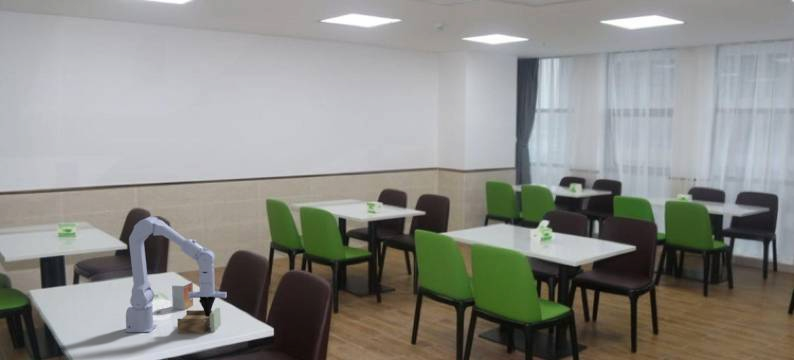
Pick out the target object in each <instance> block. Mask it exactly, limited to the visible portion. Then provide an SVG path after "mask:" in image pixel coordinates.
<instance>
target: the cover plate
mask: <svg viewBox="0 0 794 360" xmlns="http://www.w3.org/2000/svg"><path fill="white" fill-rule="evenodd" d="M221 320H222V319H221V307H215V309H214V310H212V313H211V314H210V333H216V331H217V330H218V329H219V327H220V326H221V325H222V324H221V322H222V321H221Z"/></svg>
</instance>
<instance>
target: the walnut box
mask: <svg viewBox="0 0 794 360" xmlns="http://www.w3.org/2000/svg"><path fill="white" fill-rule="evenodd" d="M212 312H213V310H212V309H211V313H212ZM209 328H211V326H210V316H209V317H206V316H205V312H204V309H203V310H202V309H201V310H197V309H196V310H188V309H187V310H186V314H185V315H184V316H183V317H182V318H177V334H205V333H206V331H207V330H209Z"/></svg>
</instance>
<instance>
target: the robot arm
mask: <svg viewBox="0 0 794 360" xmlns="http://www.w3.org/2000/svg"><path fill="white" fill-rule="evenodd" d="M152 234H153V235H152ZM150 235H152V236H163V237H165V238H166V239H168V240H170V241H171V242H173V243H174V244H176V245H177V246H179V247H180V250H181V252H183V253H184V254H185V255H187V256H188V257H190V258H191V259H192V260H194V261H196V263H197V265H198V267H199V269H198V273H199V274H198V279H199V280H198V281H199V285H198V286H199V291H193V292H189V293H188V298H193V299H195V298H196V299H199V301H198V302H199V303H200V305H201V307H202V308H203V310H204V312H205V316H206V317H209V316H210V314H211V310H212V309H213V305H214V303H215V300H216V299H218V298H219V299H220V298H221V299H227V291H217V290H216V288H215V286H216V285H215V283H216V282H215V281H216V280H215V278H216V277H215V263H214V262H215V260H216V254H215V252H214V251H213V250H212V249H207V247H203V246H202V245H201V244H200V243H198V241H197V240H196V239H191V238H187V239H186V238H185V237H184V236H182V235H181V234H180V233H178V232H177V231H176V230H174V229H173V228H172V227H170V226H169V225H168V224H167V223H165V222H164V221H163V220H162V219H160V218H158V217H156V216H155V215H150V216H148V217H146V218H144V219H141V220H139V221H138V222H137V223H136V224H135V225H134V226H133V230H132V232H131V233H130V235H129V238H128V245H129V253H130V260H131V261H130V262H131V270H132V271H131V272H132V282H133V285H132V289H131V297H130V300H129V302H130V305H131V306H129V307H128V308H127V309H126V312H125V328H126V329H125V333H150V332H152V331H153V330H155V328H156V327H157V326H158V324H154V311H153V310H154V309H153V304H152V301H153V300H154V298H155V293H154V291H153V289H152V286H151V283H150V282H149V281H148V279H149V278H148V270H147V260H146V251H145V241H146V240H147V239H148V238H149V236H150Z"/></svg>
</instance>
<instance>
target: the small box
mask: <svg viewBox="0 0 794 360" xmlns="http://www.w3.org/2000/svg"><path fill="white" fill-rule="evenodd" d="M193 285H194V283H193V281H180V282H178V283H175V284H174V285H171V290H172V295H171V296H172V310H178V311H179V310H181V311H183V310H184V311H185V310H186V309H187V310H188V308H190V307H193V306H194V298H188V293H189V292H194V287H193Z"/></svg>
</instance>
